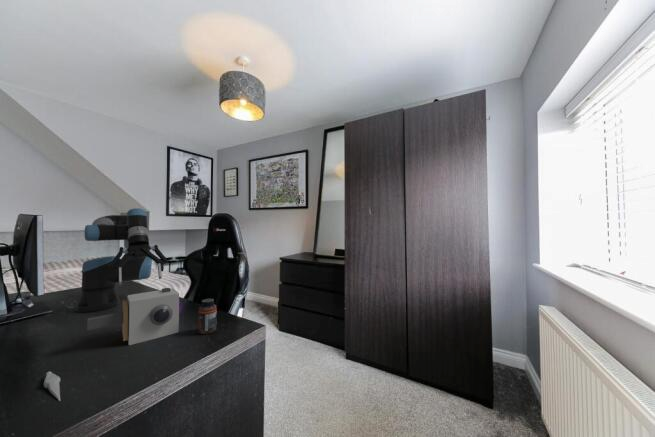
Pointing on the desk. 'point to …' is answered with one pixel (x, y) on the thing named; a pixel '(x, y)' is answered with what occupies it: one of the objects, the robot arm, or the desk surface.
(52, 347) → the desk surface
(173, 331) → the camera body
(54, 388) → the grey tapered wedge
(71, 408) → the desk surface
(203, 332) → the supplement bottle
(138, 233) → the robot arm
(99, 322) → the door
